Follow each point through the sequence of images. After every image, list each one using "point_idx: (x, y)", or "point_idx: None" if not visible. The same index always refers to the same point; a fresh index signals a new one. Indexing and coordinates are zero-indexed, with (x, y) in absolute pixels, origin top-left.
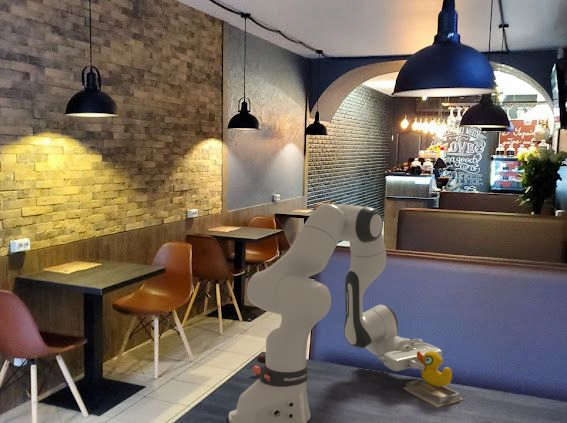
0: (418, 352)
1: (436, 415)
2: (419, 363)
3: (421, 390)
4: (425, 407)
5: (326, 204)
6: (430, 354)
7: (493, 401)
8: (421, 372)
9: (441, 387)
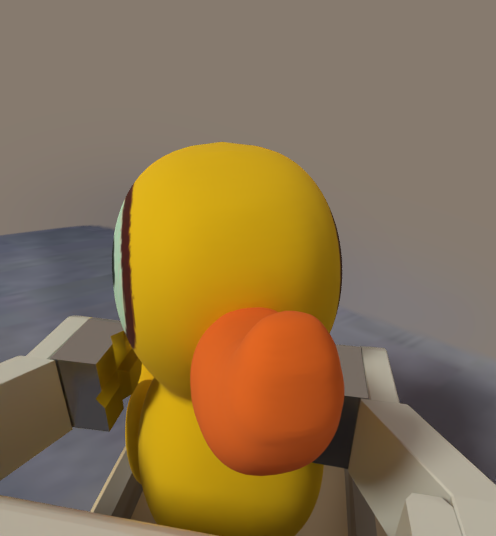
0: (323, 331)
1: (437, 358)
2: (394, 391)
3: (375, 522)
4: (446, 430)
5: None
6: (299, 166)
7: (85, 311)
8: (315, 498)
9: (134, 481)
